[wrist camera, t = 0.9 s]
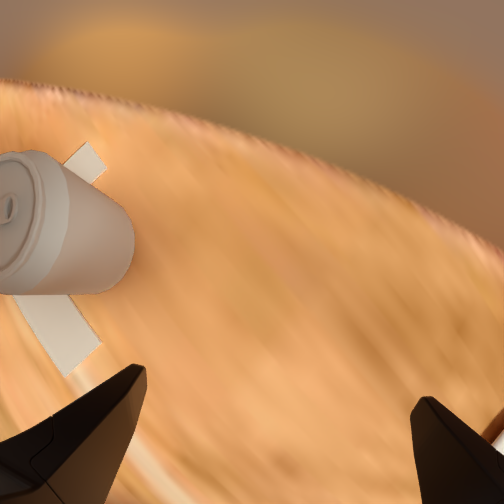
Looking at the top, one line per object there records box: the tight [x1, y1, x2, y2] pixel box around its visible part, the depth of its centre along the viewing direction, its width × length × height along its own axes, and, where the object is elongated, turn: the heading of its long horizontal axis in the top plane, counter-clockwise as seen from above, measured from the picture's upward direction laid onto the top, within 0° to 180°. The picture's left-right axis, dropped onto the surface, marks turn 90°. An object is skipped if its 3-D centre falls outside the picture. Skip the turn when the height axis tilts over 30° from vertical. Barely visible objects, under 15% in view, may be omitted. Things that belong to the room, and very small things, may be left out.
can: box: [0, 150, 135, 295], centre depth 17 cm, size 8×8×12 cm
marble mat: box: [12, 141, 108, 377], centre depth 22 cm, size 14×14×1 cm
